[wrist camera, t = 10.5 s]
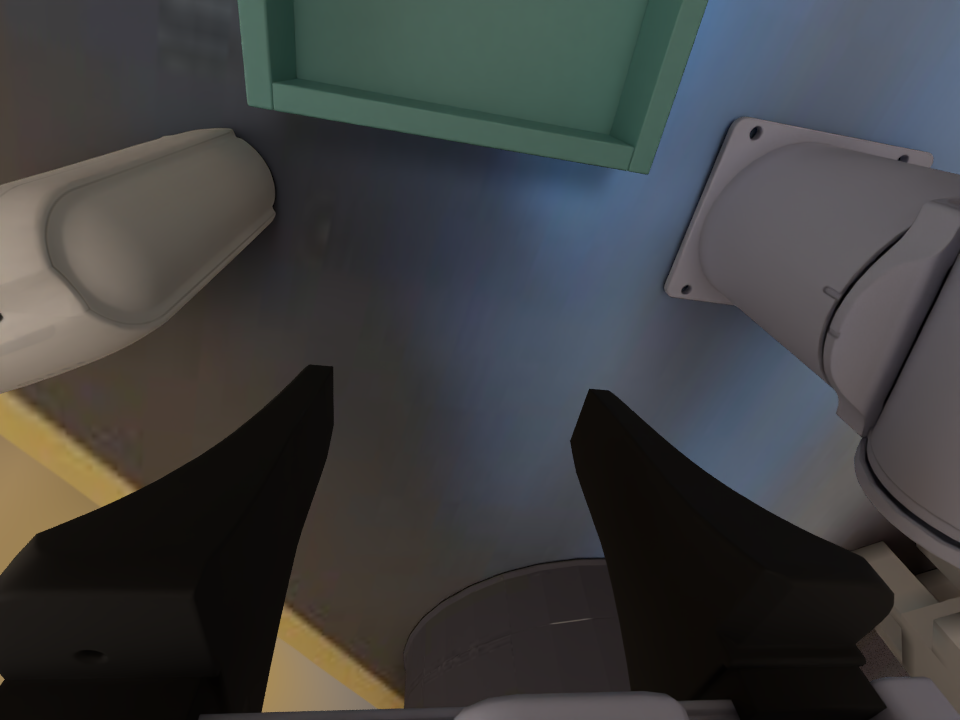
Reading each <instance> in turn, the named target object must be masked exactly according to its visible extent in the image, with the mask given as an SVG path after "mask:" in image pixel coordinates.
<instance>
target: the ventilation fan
mask: <svg viewBox="0 0 960 720" xmlns="http://www.w3.org/2000/svg"><path fill="white" fill-rule="evenodd" d="M404 668H405V670H406V682H405V703H404V709H408V708H444V707H467V706H470V705H472V704H475V703H477V702H480V701H482V700H485V699H487V698H493V697H500V696H507V695H514V694H543V693H585V692H627V691H631V689H630V682H629V675H628V668H627V662H626V656H625V651H624V645H623V640H622V634H621V628H620V623H619V618H618V613H617V608H616V604H615V599H614V594H613V589H612V585H611V581H610V576H609V572H608V568H607V564H606V559H605V558H597V559H573V560H565V561H558V562H551V563H543V564H538V565H534V566H530V567H526V568H522V569H518V570H514V571H510V572H506V573H503V574H500V575H497V576H495V577H492V578H490V579H487V580H485V581H482V582H479V583H477V584H474V585H472V586H470V587H468V588H466V589H464V590H462V591H461V592H459V593H457V594H455V595H454V596H452V597H450V598H448V599H446V600H445V601H443V602H442V603H441V604H439V605H438V606H437V607H436V608H435V609H433V610H432V611H431V612H430V613H428V614H427V615H426V616H425V617H424V618H423V619H422V620H421V621H420V623H419V624H418V625H417V627H416V628H415V629H414V630H413V632H412V633H411V634H410V636H409V639H408V641H407V644H406V647H405V650H404Z"/></svg>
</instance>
